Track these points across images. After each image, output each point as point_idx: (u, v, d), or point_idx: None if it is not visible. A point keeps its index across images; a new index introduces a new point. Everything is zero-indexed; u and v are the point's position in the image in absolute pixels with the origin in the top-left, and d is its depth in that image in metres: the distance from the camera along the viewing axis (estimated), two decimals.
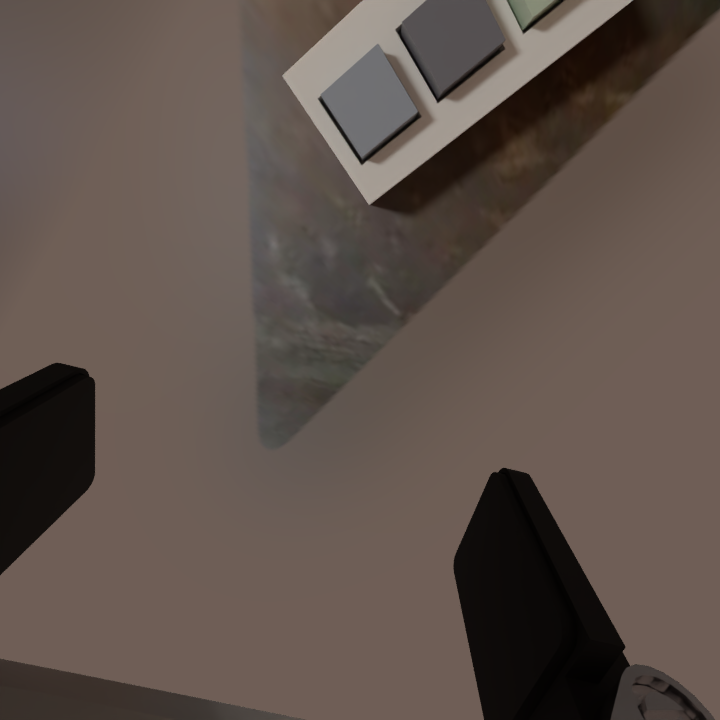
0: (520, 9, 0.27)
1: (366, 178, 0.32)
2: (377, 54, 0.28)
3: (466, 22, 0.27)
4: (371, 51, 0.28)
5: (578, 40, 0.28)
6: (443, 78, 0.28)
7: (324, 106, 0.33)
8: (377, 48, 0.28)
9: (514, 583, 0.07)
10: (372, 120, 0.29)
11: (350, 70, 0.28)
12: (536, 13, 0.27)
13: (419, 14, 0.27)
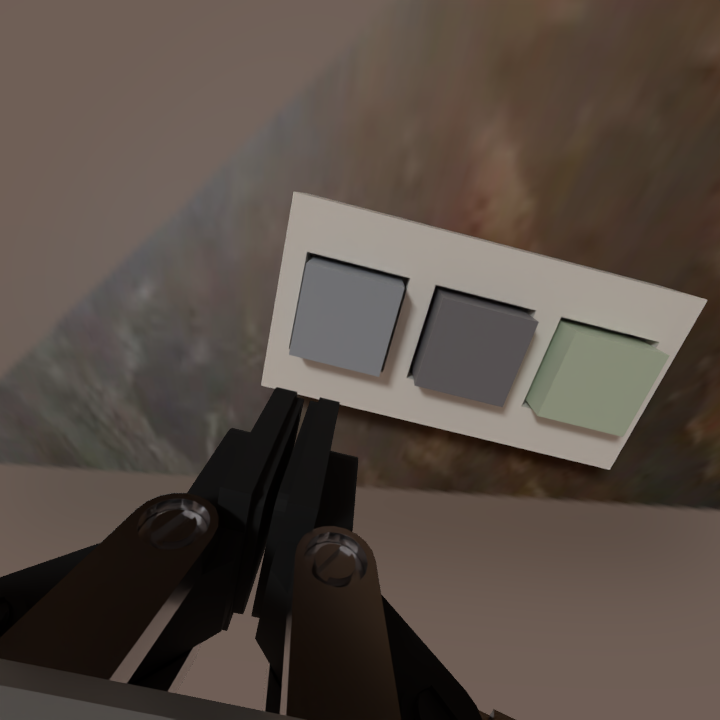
0: (538, 391, 0.23)
1: (281, 363, 0.23)
2: (394, 295, 0.20)
3: (489, 360, 0.21)
4: (392, 287, 0.20)
5: (549, 453, 0.25)
6: (426, 377, 0.22)
7: None
8: (399, 291, 0.20)
9: None
10: (332, 338, 0.21)
11: (356, 278, 0.20)
12: (542, 415, 0.22)
13: (462, 310, 0.20)
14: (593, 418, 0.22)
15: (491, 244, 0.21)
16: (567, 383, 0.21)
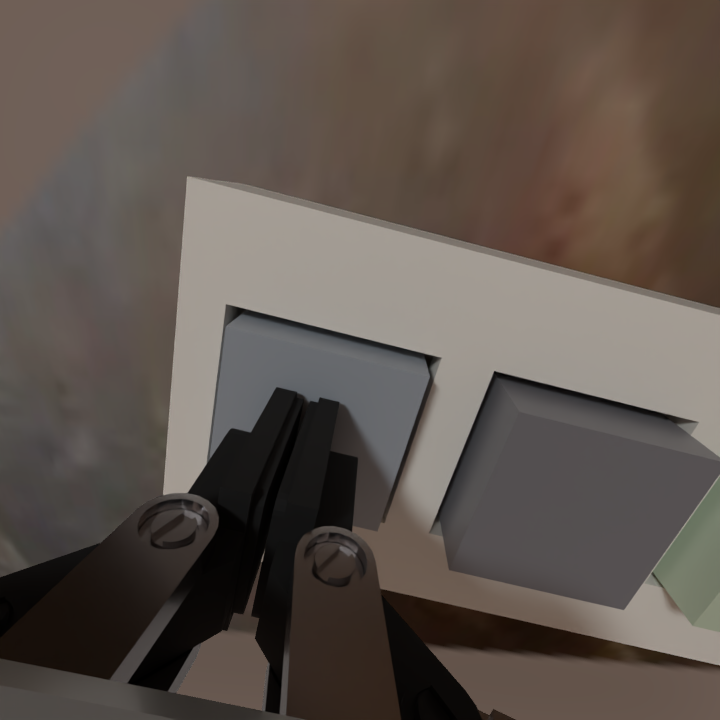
0: (686, 569, 0.12)
1: None
2: (408, 391, 0.10)
3: (608, 532, 0.10)
4: (404, 376, 0.10)
5: (686, 655, 0.14)
6: (474, 557, 0.11)
7: None
8: (419, 383, 0.10)
9: None
10: None
11: (331, 357, 0.10)
12: (703, 625, 0.11)
13: (560, 437, 0.09)
14: None
15: (620, 291, 0.09)
16: None
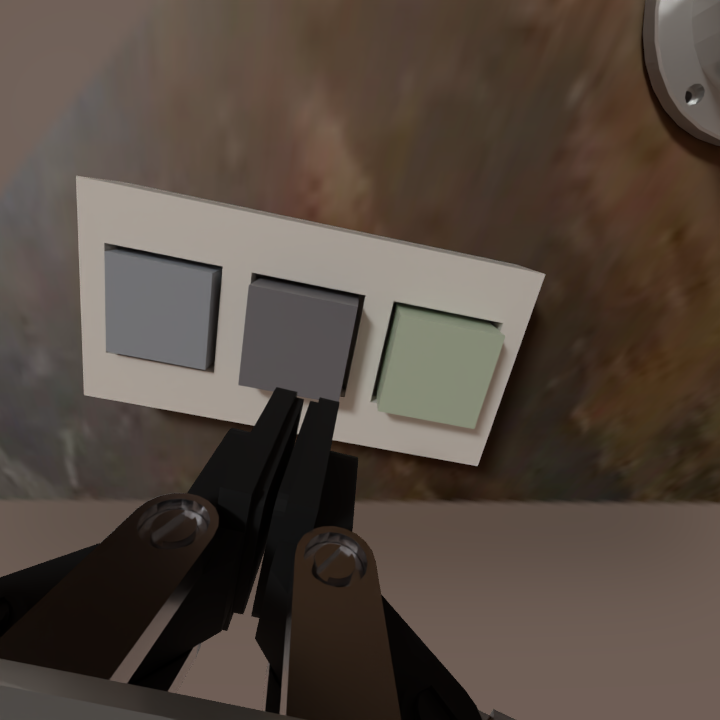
0: (381, 385, 0.21)
1: (101, 369, 0.21)
2: (203, 281, 0.19)
3: (313, 353, 0.19)
4: (199, 273, 0.19)
5: (410, 452, 0.23)
6: (249, 375, 0.20)
7: None
8: (207, 276, 0.19)
9: None
10: (148, 331, 0.20)
11: (160, 265, 0.19)
12: (383, 410, 0.20)
13: (272, 297, 0.18)
14: (438, 410, 0.20)
15: (303, 224, 0.19)
16: (402, 373, 0.19)
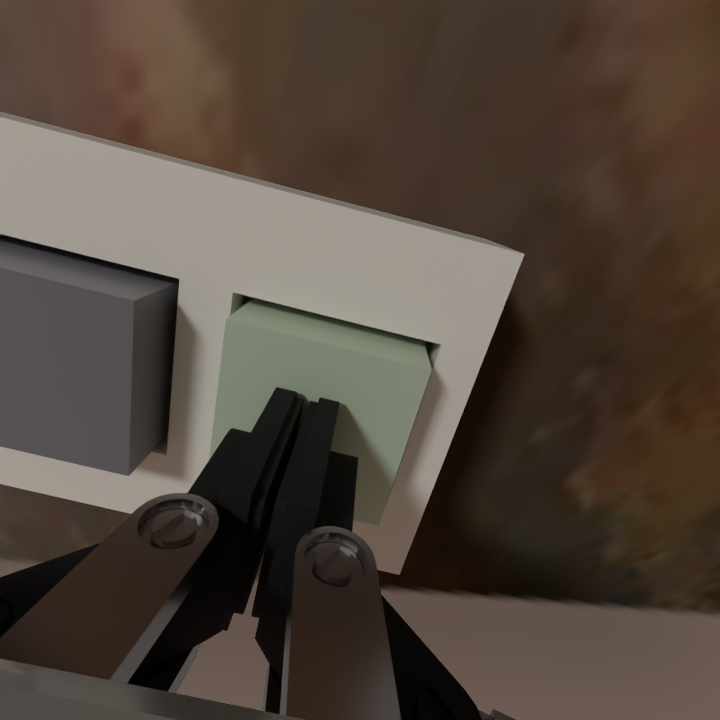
0: None
1: None
2: None
3: (65, 385, 0.10)
4: None
5: None
6: None
7: None
8: None
9: None
10: None
11: None
12: None
13: None
14: None
15: (37, 129, 0.09)
16: (242, 426, 0.10)
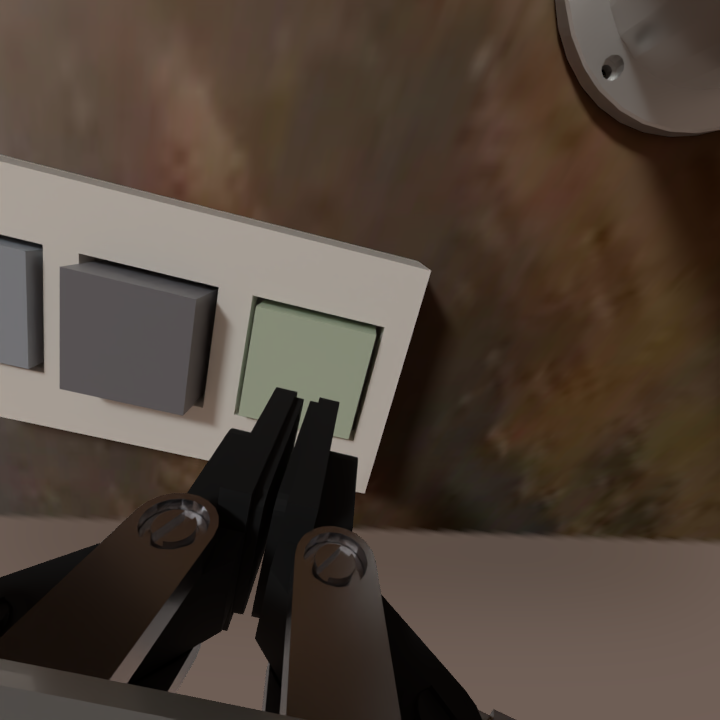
0: None
1: None
2: (15, 261, 0.16)
3: (147, 353, 0.16)
4: (9, 251, 0.16)
5: None
6: (71, 377, 0.16)
7: None
8: (20, 255, 0.16)
9: None
10: None
11: None
12: (245, 415, 0.18)
13: (90, 284, 0.15)
14: None
15: (136, 197, 0.15)
16: (263, 373, 0.17)
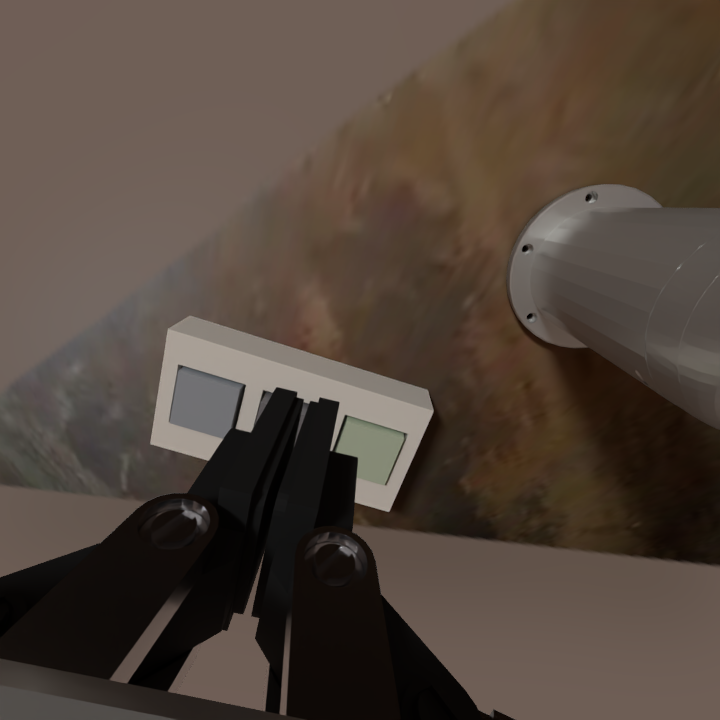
0: None
1: (164, 430, 0.35)
2: (234, 393, 0.33)
3: None
4: (232, 388, 0.32)
5: None
6: None
7: None
8: (237, 391, 0.32)
9: None
10: (197, 415, 0.33)
11: (210, 381, 0.32)
12: None
13: None
14: (364, 473, 0.35)
15: (296, 369, 0.32)
16: (345, 451, 0.34)
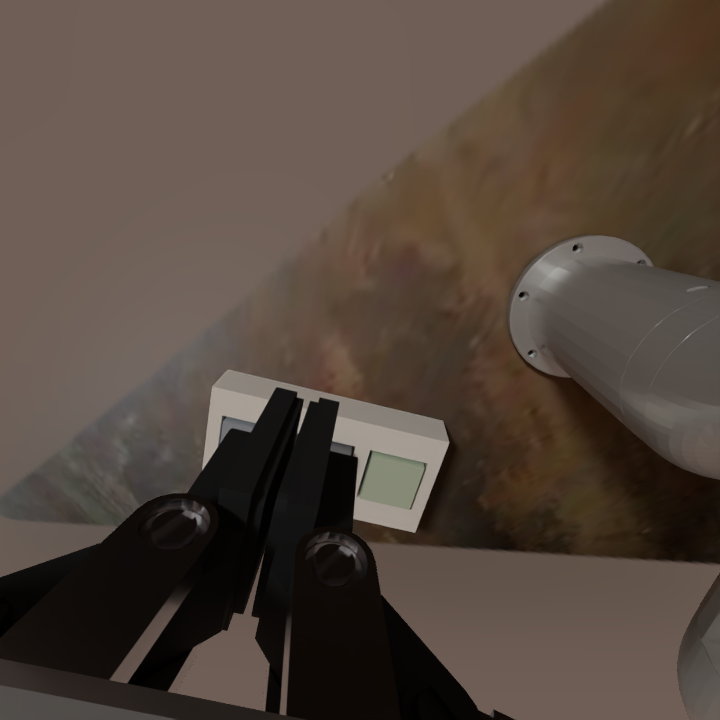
0: (362, 483, 0.40)
1: None
2: None
3: None
4: None
5: (377, 523, 0.41)
6: None
7: None
8: None
9: None
10: None
11: (250, 429, 0.37)
12: (362, 498, 0.39)
13: None
14: (391, 500, 0.39)
15: None
16: (372, 482, 0.38)
